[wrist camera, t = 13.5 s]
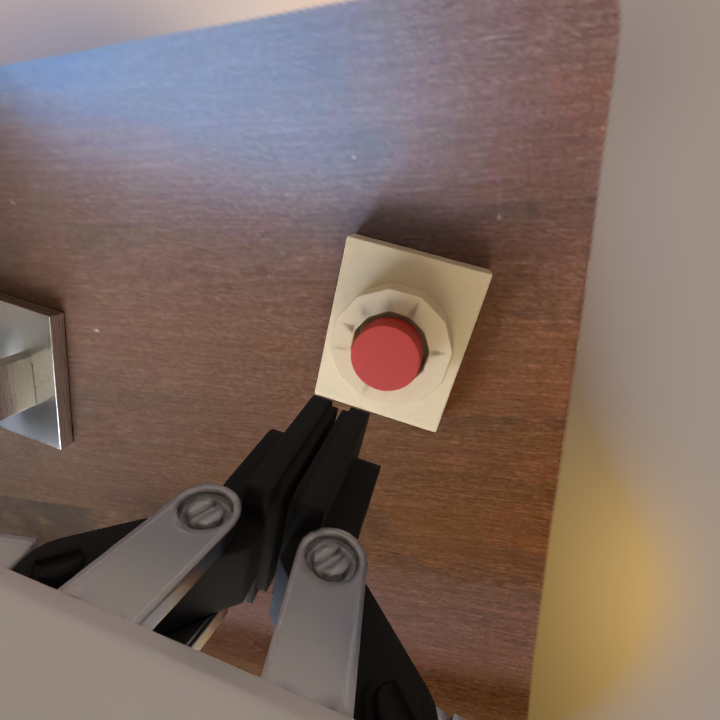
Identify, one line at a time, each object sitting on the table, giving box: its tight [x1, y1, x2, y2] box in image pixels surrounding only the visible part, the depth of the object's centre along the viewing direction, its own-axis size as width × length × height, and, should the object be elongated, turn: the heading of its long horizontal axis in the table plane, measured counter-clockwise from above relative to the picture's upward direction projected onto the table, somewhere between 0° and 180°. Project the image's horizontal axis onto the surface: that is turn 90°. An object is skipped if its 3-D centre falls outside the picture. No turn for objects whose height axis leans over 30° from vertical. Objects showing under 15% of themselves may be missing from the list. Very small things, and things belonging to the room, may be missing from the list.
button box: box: [315, 234, 492, 432], centre depth 23 cm, size 10×8×4 cm
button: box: [351, 317, 423, 391], centre depth 21 cm, size 4×4×2 cm
